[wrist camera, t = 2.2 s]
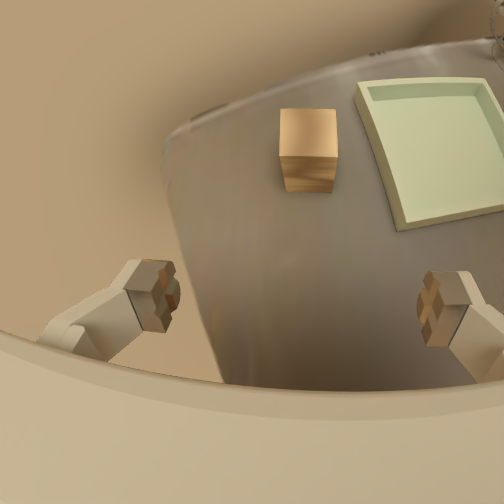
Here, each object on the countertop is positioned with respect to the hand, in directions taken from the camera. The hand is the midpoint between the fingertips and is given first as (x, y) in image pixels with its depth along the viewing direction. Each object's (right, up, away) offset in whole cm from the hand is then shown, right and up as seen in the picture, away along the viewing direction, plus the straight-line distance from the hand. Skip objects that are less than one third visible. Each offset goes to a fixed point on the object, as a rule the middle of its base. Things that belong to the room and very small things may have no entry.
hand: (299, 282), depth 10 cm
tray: (+20, +12, +20) cm, 30 cm away
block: (+4, +9, +22) cm, 24 cm away
